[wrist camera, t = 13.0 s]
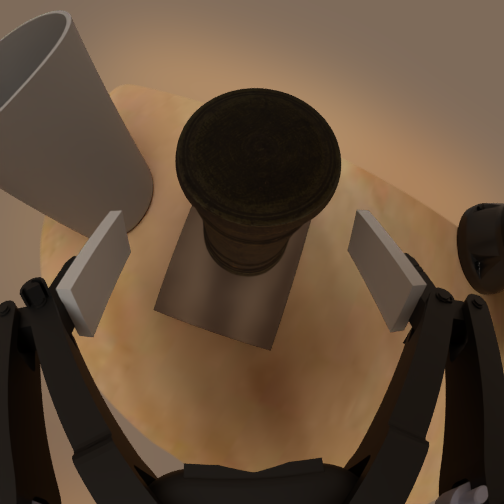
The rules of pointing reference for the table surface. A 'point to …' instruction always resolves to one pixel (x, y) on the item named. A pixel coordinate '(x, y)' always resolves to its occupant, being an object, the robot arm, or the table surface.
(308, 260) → the table surface
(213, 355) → the table surface
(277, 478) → the robot arm
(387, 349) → the table surface
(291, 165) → the container
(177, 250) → the shelf board
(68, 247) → the table surface
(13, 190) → the cylinder vase
